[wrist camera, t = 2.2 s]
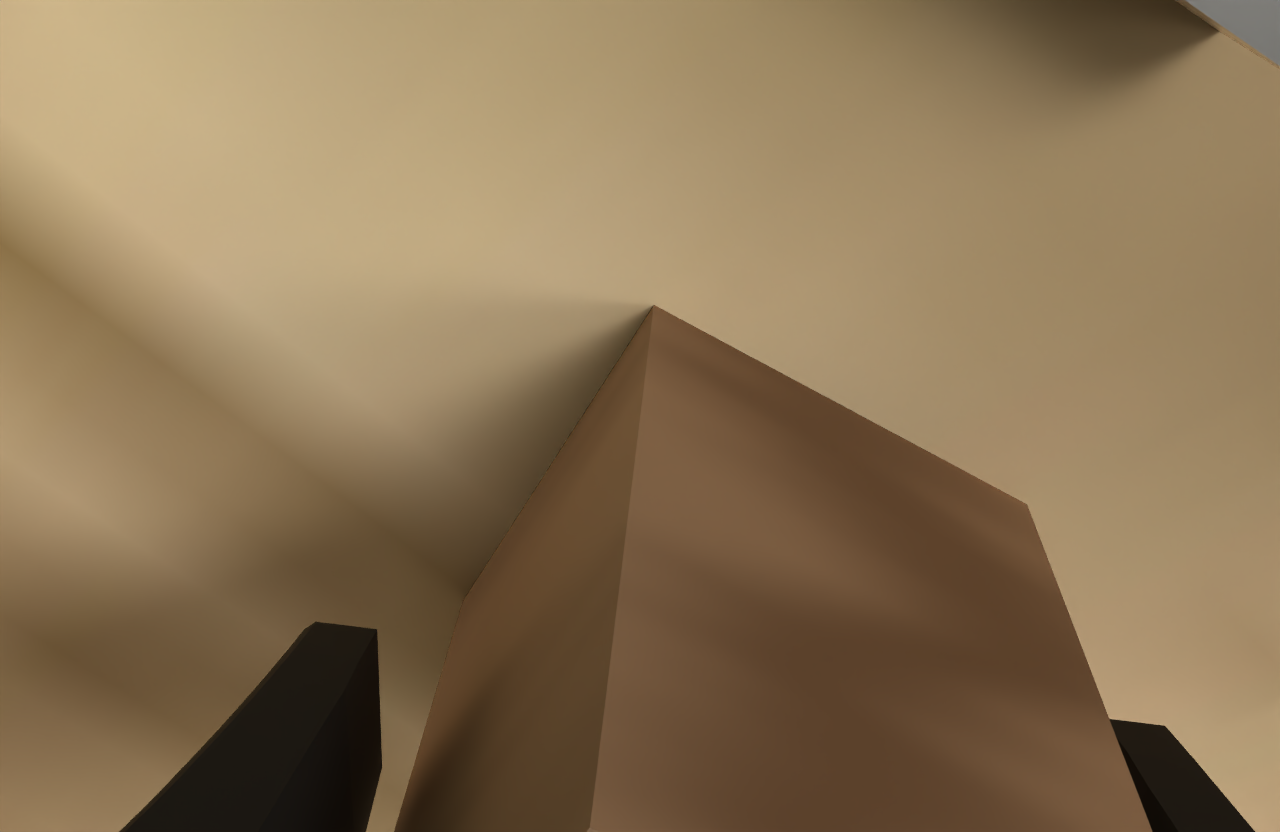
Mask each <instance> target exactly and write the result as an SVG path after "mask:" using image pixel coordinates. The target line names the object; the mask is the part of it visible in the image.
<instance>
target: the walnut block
mask: <svg viewBox="0 0 1280 832" xmlns="http://www.w3.org/2000/svg"><path fill="white" fill-rule="evenodd" d="M394 832H1152V829H1151V826H1150V824H1149V821H1148V819H1147V816H1146V813H1145V811H1144V808H1143V806H1142V803H1141V800H1140V798H1139V795H1138V793H1137V790H1136V787H1135V785H1134V782H1133V780H1132V777H1131V774H1130V772H1129V769H1128V767H1127V764H1126V761H1125V759H1124V756H1123V754H1122V751H1121V748H1120V746H1119V743H1118V741H1117V738H1116V735H1115V733H1114V730H1113V728H1112V725H1111V722H1110V720H1109V717H1108V715H1107V712H1106V709H1105V707H1104V704H1103V701H1102V699H1101V696H1100V694H1099V691H1098V688H1097V686H1096V683H1095V681H1094V678H1093V675H1092V673H1091V670H1090V668H1089V665H1088V662H1087V660H1086V657H1085V655H1084V652H1083V649H1082V647H1081V644H1080V642H1079V639H1078V636H1077V634H1076V631H1075V629H1074V626H1073V623H1072V621H1071V618H1070V616H1069V613H1068V610H1067V608H1066V605H1065V603H1064V600H1063V597H1062V595H1061V592H1060V590H1059V587H1058V584H1057V582H1056V579H1055V577H1054V574H1053V571H1052V569H1051V566H1050V564H1049V561H1048V558H1047V556H1046V553H1045V551H1044V548H1043V545H1042V543H1041V540H1040V538H1039V535H1038V532H1037V530H1036V527H1035V525H1034V522H1033V519H1032V517H1031V514H1030V512H1029V509H1028V506H1027V504H1025V503H1023V502H1021V501H1019V500H1017V499H1016V498H1014V497H1012V496H1010V495H1008V494H1006V493H1004V492H1002V491H1001V490H999V489H997V488H995V487H993V486H991V485H989V484H987V483H986V482H984V481H982V480H980V479H978V478H976V477H974V476H973V475H971V474H969V473H967V472H965V471H963V470H961V469H959V468H958V467H956V466H954V465H952V464H950V463H948V462H946V461H944V460H943V459H941V458H939V457H937V456H935V455H933V454H931V453H930V452H928V451H926V450H924V449H922V448H920V447H918V446H916V445H915V444H913V443H911V442H909V441H907V440H905V439H903V438H901V437H900V436H898V435H896V434H894V433H892V432H890V431H888V430H887V429H885V428H883V427H881V426H879V425H877V424H875V423H873V422H872V421H870V420H868V419H866V418H864V417H862V416H860V415H858V414H857V413H855V412H853V411H851V410H849V409H847V408H845V407H844V406H842V405H840V404H838V403H836V402H834V401H832V400H830V399H829V398H827V397H825V396H823V395H821V394H819V393H817V392H815V391H814V390H812V389H810V388H808V387H806V386H804V385H802V384H801V383H799V382H797V381H795V380H793V379H791V378H789V377H787V376H786V375H784V374H782V373H780V372H778V371H776V370H774V369H772V368H771V367H769V366H767V365H765V364H763V363H761V362H759V361H758V360H756V359H754V358H752V357H750V356H748V355H746V354H744V353H743V352H741V351H739V350H737V349H735V348H733V347H731V346H729V345H728V344H726V343H724V342H722V341H720V340H718V339H716V338H715V337H713V336H711V335H709V334H707V333H705V332H703V331H701V330H700V329H698V328H696V327H694V326H692V325H690V324H688V323H686V322H685V321H683V320H681V319H679V318H677V317H675V316H673V315H671V314H670V313H668V312H666V311H664V310H662V309H660V308H658V307H657V306H655V305H654V306H653V307H652V309H651V310H650V312H649V313H648V315H647V317H646V318H645V320H644V321H643V323H642V324H641V326H640V327H639V329H638V330H637V332H636V334H635V335H634V337H633V338H632V340H631V341H630V343H629V344H628V346H627V348H626V349H625V351H624V352H623V354H622V355H621V357H620V358H619V360H618V361H617V363H616V365H615V366H614V368H613V369H612V371H611V372H610V374H609V375H608V377H607V379H606V380H605V382H604V383H603V385H602V386H601V388H600V389H599V391H598V393H597V394H596V396H595V397H594V399H593V400H592V402H591V403H590V405H589V406H588V408H587V410H586V411H585V413H584V414H583V416H582V417H581V419H580V420H579V422H578V424H577V425H576V427H575V428H574V430H573V431H572V433H571V434H570V436H569V437H568V439H567V441H566V442H565V444H564V445H563V447H562V448H561V450H560V451H559V453H558V455H557V456H556V458H555V459H554V461H553V462H552V464H551V465H550V467H549V468H548V470H547V472H546V473H545V475H544V476H543V478H542V479H541V481H540V482H539V484H538V486H537V487H536V489H535V490H534V492H533V493H532V495H531V496H530V498H529V499H528V501H527V503H526V504H525V506H524V507H523V509H522V510H521V512H520V513H519V515H518V517H517V518H516V520H515V521H514V523H513V524H512V526H511V527H510V529H509V530H508V532H507V534H506V535H505V537H504V538H503V540H502V541H501V543H500V544H499V546H498V548H497V549H496V551H495V552H494V554H493V555H492V557H491V558H490V560H489V561H488V563H487V565H486V566H485V568H484V569H483V571H482V572H481V574H480V575H479V577H478V579H477V580H476V582H475V583H474V585H473V586H472V588H471V589H470V591H469V592H468V594H467V596H466V597H465V599H464V600H463V603H462V606H461V609H460V613H459V616H458V619H457V623H456V626H455V629H454V633H453V636H452V639H451V643H450V646H449V650H448V653H447V656H446V660H445V663H444V666H443V670H442V673H441V676H440V680H439V683H438V686H437V690H436V693H435V696H434V700H433V703H432V707H431V710H430V713H429V717H428V720H427V723H426V727H425V730H424V733H423V737H422V740H421V743H420V747H419V750H418V753H417V757H416V760H415V764H414V767H413V770H412V774H411V777H410V780H409V784H408V787H407V790H406V794H405V797H404V800H403V804H402V807H401V810H400V814H399V817H398V821H397V824H396V827H395V831H394Z"/></svg>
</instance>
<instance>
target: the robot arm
mask: <svg viewBox="0 0 1280 832" xmlns="http://www.w3.org/2000/svg"><path fill="white" fill-rule="evenodd" d="M1109 720H1110V722H1111V725H1112V728H1113V730H1114V733H1115V735H1116V738H1117V741H1118V743H1119V746H1120V748H1121V751H1122V754H1123V756H1124V759H1125V761H1126V764H1127V767H1128V769H1129V772H1130V774H1131V777H1132V780H1133V782H1134V785H1135V787H1136V790H1137V793H1138V795H1139V798H1140V800H1141V803H1142V806H1143V808H1144V811H1145V813H1146V816H1147V819H1148V821H1149V824H1150V826H1151V829H1152V832H1255V831H1254V830H1253V829H1252V828H1251V826H1250V825H1249V824H1248V823H1247V822H1246V820H1245V819H1244V818H1243V817H1242V816H1241V815H1240V813H1239V812H1238V811H1237V810H1236V809H1235V807H1234V806H1233V805H1232V804H1231V803H1230V801H1229V800H1228V799H1227V798H1226V797H1225V795H1224V794H1223V793H1222V792H1221V791H1220V789H1219V788H1218V787H1217V786H1216V785H1215V784H1214V782H1213V781H1212V780H1211V779H1210V778H1209V776H1208V775H1207V774H1206V773H1205V772H1204V770H1203V769H1202V768H1201V767H1200V766H1199V765H1198V763H1197V762H1196V761H1195V760H1194V759H1193V758H1192V756H1191V755H1190V754H1189V753H1188V752H1187V751H1186V749H1185V748H1184V747H1183V746H1182V745H1181V744H1180V742H1179V741H1178V740H1177V739H1176V738H1175V737H1174V736H1173V734H1172V733H1171V732H1170V731H1169V730H1168V729H1167V728H1166V727H1165V726H1161V725H1153V724H1145V723H1137V722H1129V721H1121V720H1112V719H1109ZM381 769H382V752H381V724H380V697H379V669H378V641H377V629H370V628H361V627H353V626H345V625H337V624H329V623H321V622H315V623H313V624H312V625H310V626H309V627H307V628H306V629H304V631H303V632H302V633H301V634H300V636H299V637H298V638H297V639H296V641H295V642H294V643H293V644H292V645H291V647H290V648H289V649H288V650H287V652H286V653H285V654H284V655H283V656H282V658H281V659H280V660H279V661H278V662H277V664H276V665H275V666H274V667H273V668H272V669H271V671H270V672H269V673H268V674H267V675H266V677H265V678H264V679H263V680H262V681H261V682H260V684H259V685H258V686H257V687H256V688H255V689H254V690H253V692H252V693H251V694H250V695H249V696H248V697H247V698H246V700H245V701H244V702H243V703H242V704H241V705H240V706H239V707H238V709H237V710H236V711H235V712H234V713H233V714H232V715H231V716H230V717H229V719H228V720H227V721H226V722H225V723H224V724H223V725H222V726H221V728H220V729H219V730H218V731H217V732H216V733H215V734H214V735H213V736H212V737H211V738H210V739H209V740H208V742H207V743H206V744H205V745H204V746H203V747H202V748H201V749H200V750H199V751H198V752H197V753H196V754H195V755H194V756H193V757H192V758H191V759H190V761H189V762H188V763H187V764H186V765H185V766H184V767H183V768H182V769H181V770H180V771H179V772H178V773H177V774H176V775H175V776H174V777H173V778H172V780H171V781H170V782H169V783H168V784H167V785H166V786H165V787H164V788H163V789H162V790H161V791H160V792H159V793H158V794H157V795H156V796H155V797H154V798H153V799H152V800H151V801H150V802H149V803H148V804H147V805H146V806H145V807H144V808H143V809H142V810H141V811H140V812H139V813H138V814H137V815H136V816H135V817H134V818H133V819H132V820H131V821H130V822H129V823H128V824H127V825H126V826H125V827H124V828H123V829H122V830H121V831H119V832H366V828H367V825H368V821H369V817H370V813H371V809H372V805H373V801H374V797H375V793H376V789H377V785H378V781H379V777H380V773H381Z"/></svg>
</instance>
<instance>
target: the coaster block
mask: <svg viewBox="0 0 1280 832" xmlns="http://www.w3.org/2000/svg"><path fill="white" fill-rule="evenodd" d="M1175 1H1176V2H1178V3H1179V4H1181V5H1182V6H1184V7H1185V8H1187V9H1188V10H1189V11H1191V12H1192V13H1194V14H1195V15H1197V16H1198V17H1200V18H1201V19H1202V20H1204V21H1205V22H1207V23H1208V24H1210V25H1211V26H1212V27H1214V28H1215V29H1217V30H1218V31H1220V32H1221V33H1223V34H1224V35H1226V36H1228V37H1229V38H1231V39H1232V40H1234V41H1236V42H1237V43H1239V44H1240V45H1242V46H1243V47H1245V48H1247V49H1248V50H1250V51H1251V52H1253V53H1255V54H1256V55H1258V56H1259V57H1261V58H1263V59H1264V60H1266V61H1267V62H1269V63H1270V64H1272V65H1274V66H1275V67H1277V68H1278V69H1280V0H1175Z"/></svg>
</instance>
